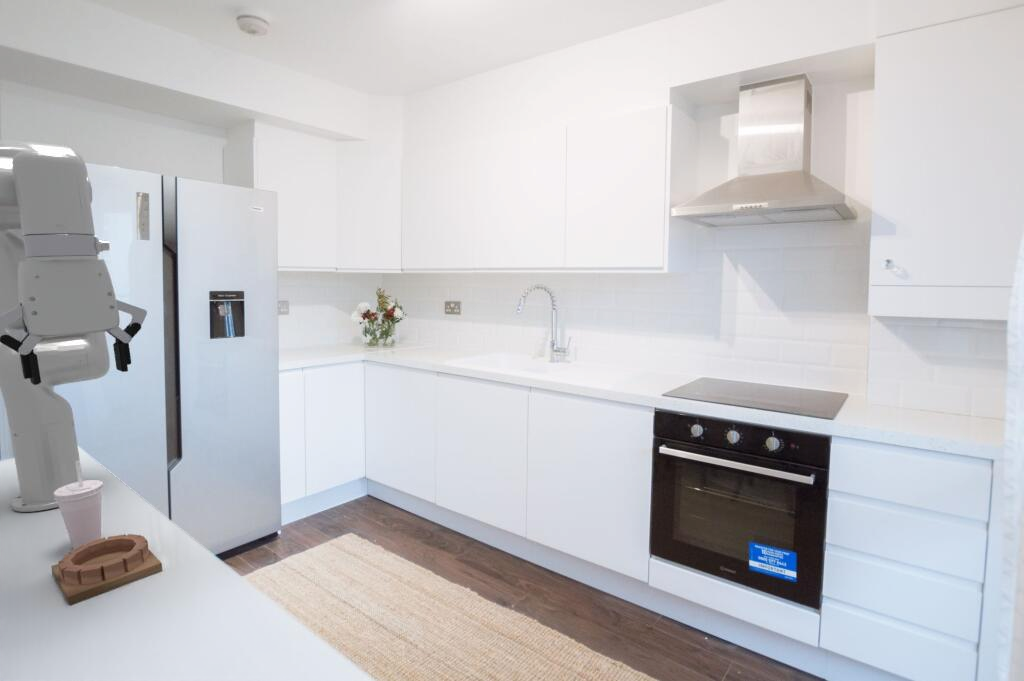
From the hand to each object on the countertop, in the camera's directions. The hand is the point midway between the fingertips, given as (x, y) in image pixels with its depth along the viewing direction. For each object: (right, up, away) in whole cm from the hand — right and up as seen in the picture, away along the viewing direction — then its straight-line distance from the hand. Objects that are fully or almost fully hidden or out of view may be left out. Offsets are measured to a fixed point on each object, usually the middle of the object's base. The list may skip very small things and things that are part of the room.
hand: (81, 376), depth 78 cm
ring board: (0, -29, +6) cm, 29 cm away
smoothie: (-10, -28, +15) cm, 33 cm away
